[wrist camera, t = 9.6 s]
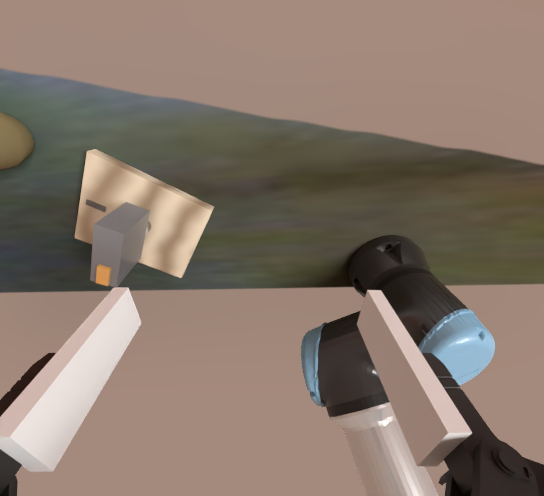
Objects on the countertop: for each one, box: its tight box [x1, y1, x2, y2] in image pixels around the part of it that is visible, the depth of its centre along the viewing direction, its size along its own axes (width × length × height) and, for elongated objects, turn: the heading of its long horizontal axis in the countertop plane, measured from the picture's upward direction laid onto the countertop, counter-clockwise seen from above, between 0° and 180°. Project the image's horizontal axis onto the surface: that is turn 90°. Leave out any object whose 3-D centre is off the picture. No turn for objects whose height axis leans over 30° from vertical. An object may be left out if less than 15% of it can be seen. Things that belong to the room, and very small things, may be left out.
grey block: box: [90, 202, 150, 288], centre depth 35 cm, size 10×4×8 cm, turn 155°
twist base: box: [75, 149, 214, 278], centre depth 41 cm, size 20×17×4 cm
